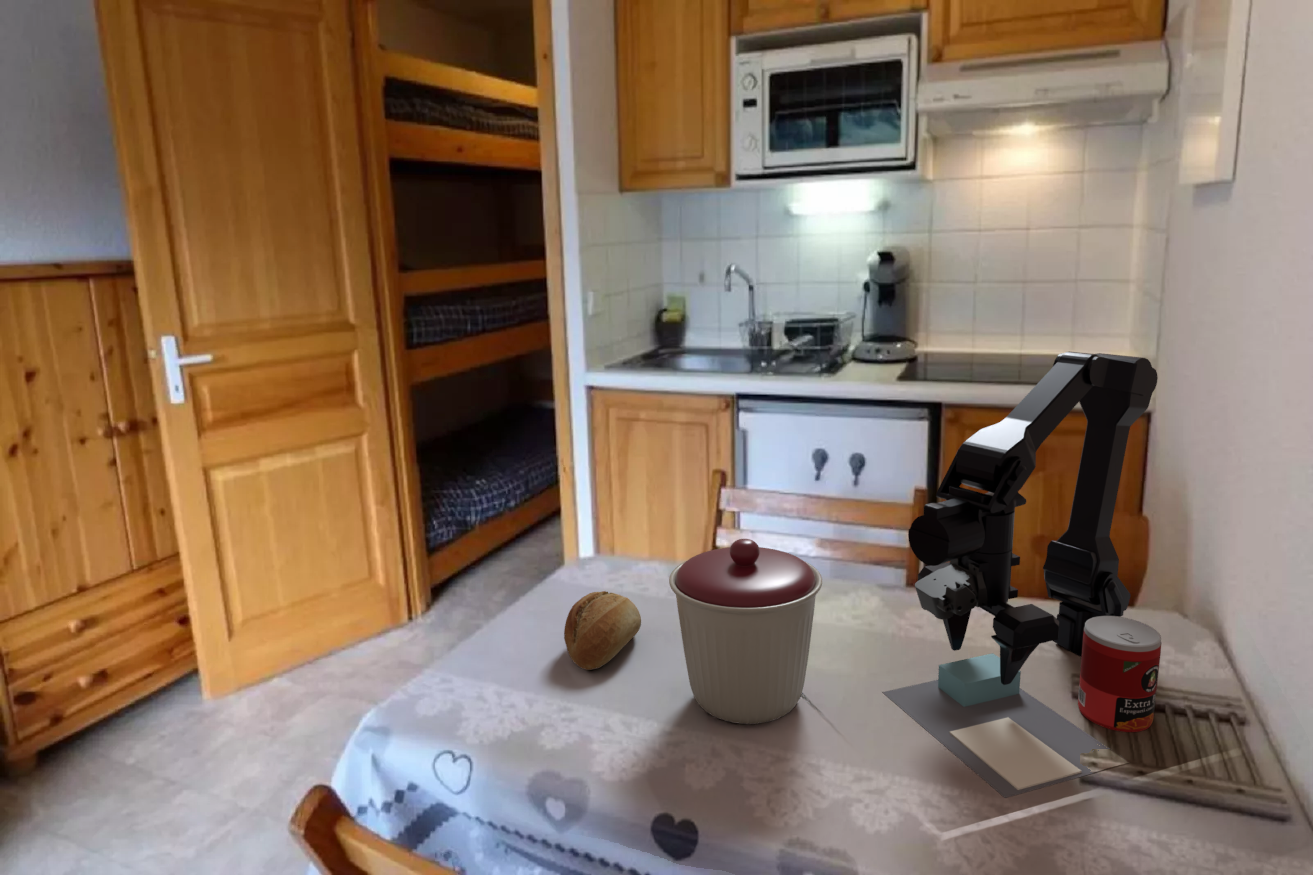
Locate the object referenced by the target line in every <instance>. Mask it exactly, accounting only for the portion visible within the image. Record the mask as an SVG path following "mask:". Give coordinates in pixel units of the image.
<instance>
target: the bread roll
mask: <svg viewBox="0 0 1313 875" xmlns="http://www.w3.org/2000/svg"><path fill="white" fill-rule="evenodd" d="M641 626H642V615H641V613H640V611H639V609H638V607H637V606H636V604H635V603H634V602H633V601H632V600H631V599H630V598H628V597H627V596H624V595H621V594H618V593H615V592H608V591H606V590H604V591H592V592H589V593H588V594H586V595H585V596H583V597H581V598H580V599H579V600H578V601H576V602H575V603H574V604H573V605H572V607H570V610H569V612H568V614H567V617H566V620H565V624H564V631H563V632H564V633H563V636H564V637H563V639H564V643H565V646H566V649H567V652H568V653H567V654H568V655H569V657H570V659H571V660H572V662H573V663H575V665H577V667H579V668H581V669H583V670H587V671H588V670H589V671H590V670H596V669H599V668H601V667H603V666H605V665H606V664H608V663H609V662H610V661H611V660H612V659H613V658H614V657H616V656H617V655H618V654H619V652H621V650H622V649H623V648H625V646H626V645H627V644H628V643H629V642H630V641H631V640H632V639H633V638H635V636H636V635H637V634H638V633H639V630H640V629H641Z"/></svg>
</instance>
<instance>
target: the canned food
mask: <svg viewBox="0 0 1313 875" xmlns="http://www.w3.org/2000/svg"><path fill="white" fill-rule="evenodd" d="M1161 653H1162V635H1161V633H1159V631H1158V630H1157V629H1156V628H1154V627H1153V626H1150V625H1148V624H1146V623H1144V622H1141V621H1139V620H1136V619H1132V618H1128V617H1124V616H1121V617H1118V616H1098V617H1093V618H1091V619H1089V620H1087V621H1086V623H1085V627H1084V634H1083V645H1082V657H1081V658H1080V659H1081V660H1080V670H1079V671H1080V673H1079V682H1078V684H1079V686H1078V695H1077V696H1078V699H1077V705H1078V709H1079V712H1080V713H1081V715H1082V716H1083V717H1085V718H1086V719H1087V720H1088V721H1090V722H1091V723H1094V724H1095V725H1098V726H1100V727H1102V728H1104V729H1108V730H1111V731H1117V732H1121V733H1123V732H1124V733H1137V732H1139V733H1140V732H1143V731H1146V730H1147V729H1149V728H1150V727H1151V726H1152V724H1153V721H1154V716H1155V706H1156V697H1157V689H1158V680H1159V673H1160V672H1159V670H1160V662H1161Z"/></svg>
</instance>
